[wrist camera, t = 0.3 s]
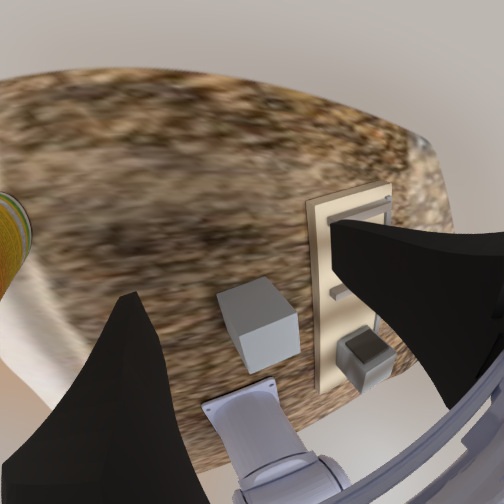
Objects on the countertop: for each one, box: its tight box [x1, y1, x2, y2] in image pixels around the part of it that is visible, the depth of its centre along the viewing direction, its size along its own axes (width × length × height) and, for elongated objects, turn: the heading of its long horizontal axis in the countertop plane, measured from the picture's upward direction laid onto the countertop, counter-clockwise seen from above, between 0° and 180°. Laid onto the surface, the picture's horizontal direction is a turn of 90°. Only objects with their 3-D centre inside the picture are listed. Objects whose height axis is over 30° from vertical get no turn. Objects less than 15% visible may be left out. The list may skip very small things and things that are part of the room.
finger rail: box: [306, 180, 397, 395], centre depth 25 cm, size 24×8×6 cm, turn 11°
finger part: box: [216, 276, 300, 374], centre depth 21 cm, size 4×4×5 cm
